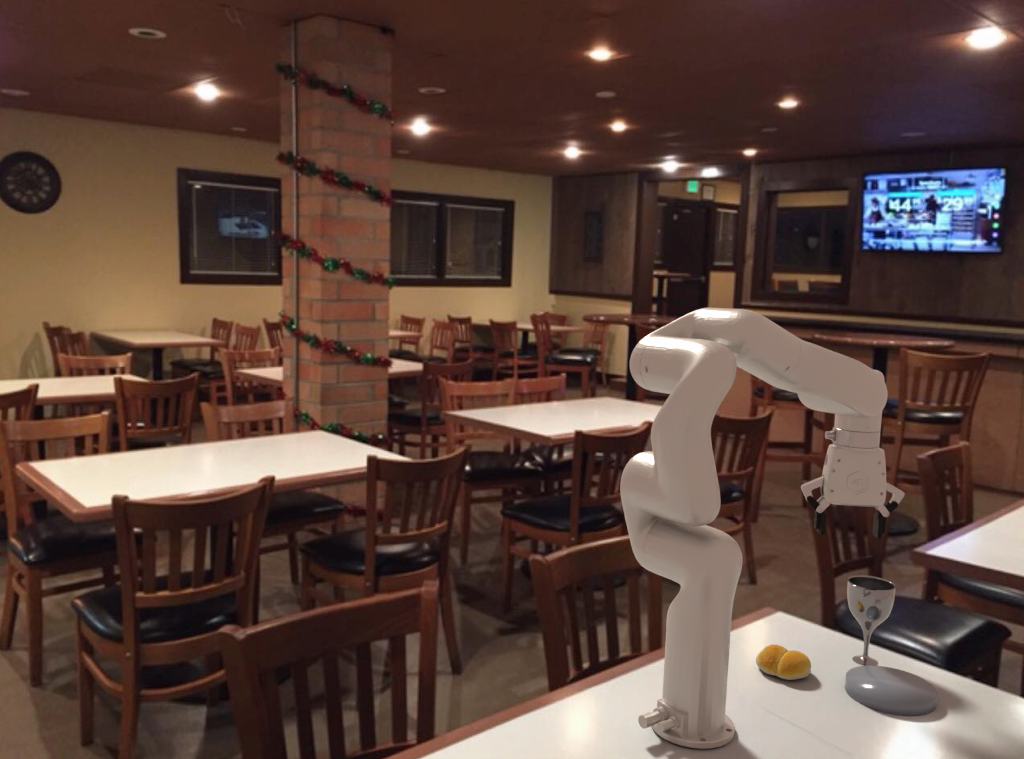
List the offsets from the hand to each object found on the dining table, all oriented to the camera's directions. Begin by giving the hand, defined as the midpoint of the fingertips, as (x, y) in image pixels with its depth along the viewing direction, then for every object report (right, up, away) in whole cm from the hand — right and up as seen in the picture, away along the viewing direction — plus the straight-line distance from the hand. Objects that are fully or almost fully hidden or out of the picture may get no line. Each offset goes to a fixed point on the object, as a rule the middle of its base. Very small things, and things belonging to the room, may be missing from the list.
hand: (848, 535), depth 153 cm
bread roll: (-8, -25, -1) cm, 26 cm away
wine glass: (+5, -24, +5) cm, 25 cm away
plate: (+4, -25, -8) cm, 27 cm away
